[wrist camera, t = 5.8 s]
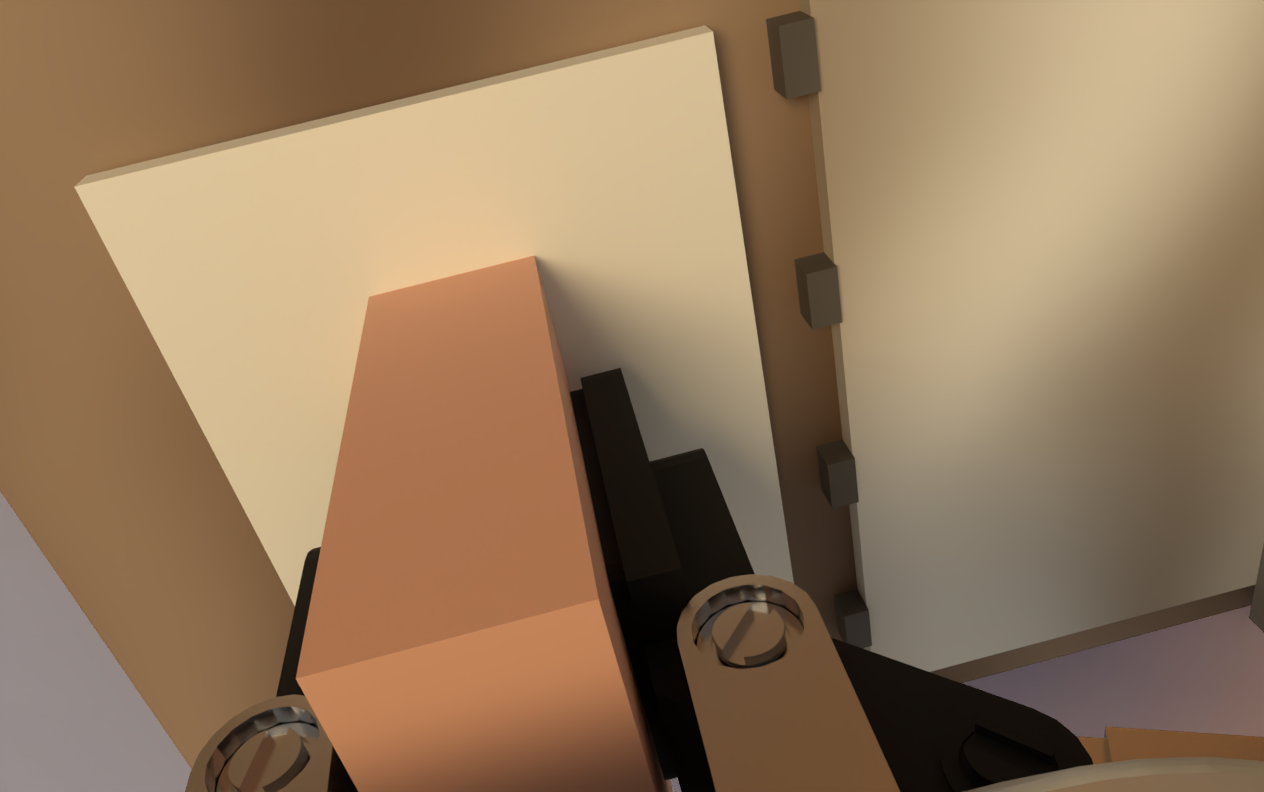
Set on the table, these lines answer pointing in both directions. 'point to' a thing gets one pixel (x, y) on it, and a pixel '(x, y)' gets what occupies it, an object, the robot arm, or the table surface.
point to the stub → (463, 389)
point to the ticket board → (781, 293)
